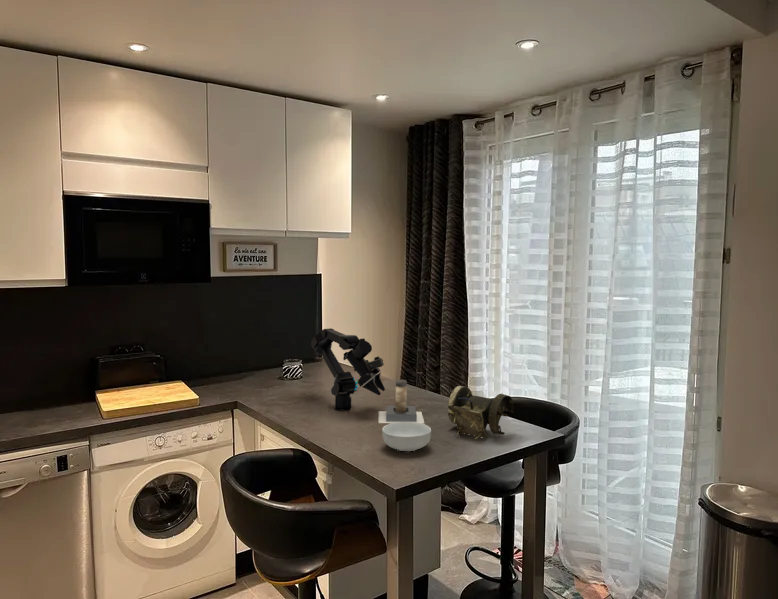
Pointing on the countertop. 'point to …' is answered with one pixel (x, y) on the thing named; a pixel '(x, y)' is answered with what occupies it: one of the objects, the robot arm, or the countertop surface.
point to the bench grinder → (477, 411)
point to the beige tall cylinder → (401, 396)
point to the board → (383, 420)
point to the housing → (401, 414)
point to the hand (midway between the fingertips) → (382, 392)
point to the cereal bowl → (406, 435)
